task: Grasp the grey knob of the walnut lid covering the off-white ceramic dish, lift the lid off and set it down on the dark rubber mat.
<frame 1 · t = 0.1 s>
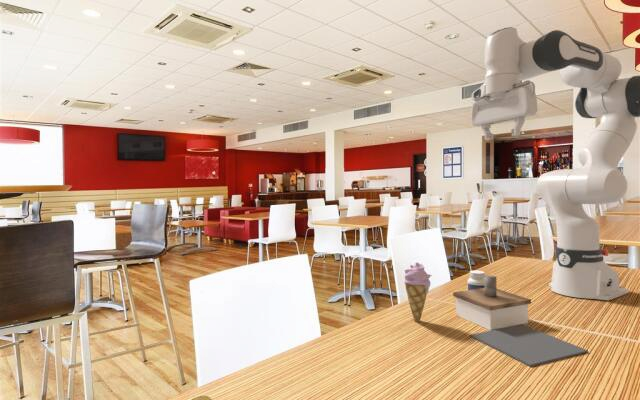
hand: (501, 137, 108), 48 cm above the table, fingers open, 8 cm apart
mat: (525, 343, 83), on the table
lid: (490, 299, 99), point 5 cm above the table, touching dish
pill bottle: (477, 306, 110), on the table
ice cream cone: (418, 322, 98), on the table
dish: (490, 318, 99), on the table
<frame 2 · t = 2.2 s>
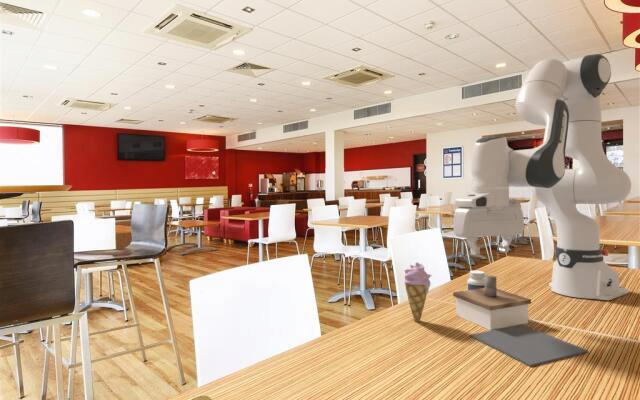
hand: (489, 253, 98), 17 cm above the table, fingers open, 8 cm apart
nothing on the table moved.
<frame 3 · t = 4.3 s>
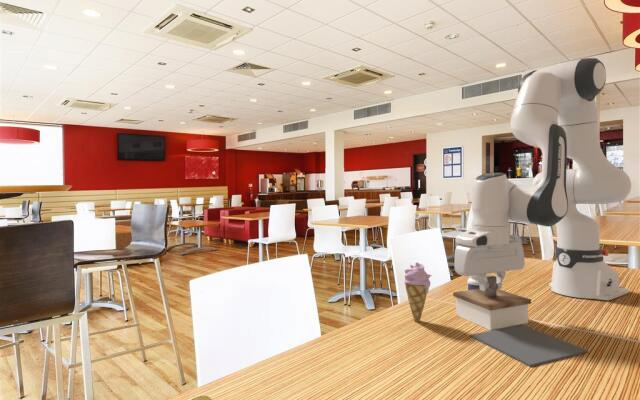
hand: (490, 289, 99), 8 cm above the table, fingers closed on lid, 3 cm apart
lid: (490, 299, 99), point 5 cm above the table, touching dish, gripper
everything else where it was.
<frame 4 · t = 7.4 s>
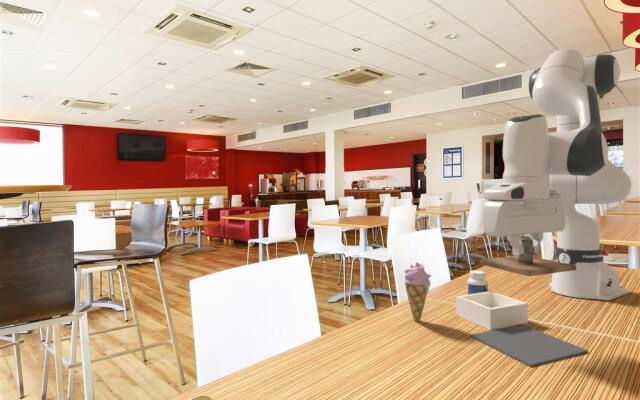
hand: (525, 254, 82), 20 cm above the table, fingers closed on lid, 3 cm apart
lid: (525, 266, 83), point 17 cm above the table, touching gripper
everything else where it was.
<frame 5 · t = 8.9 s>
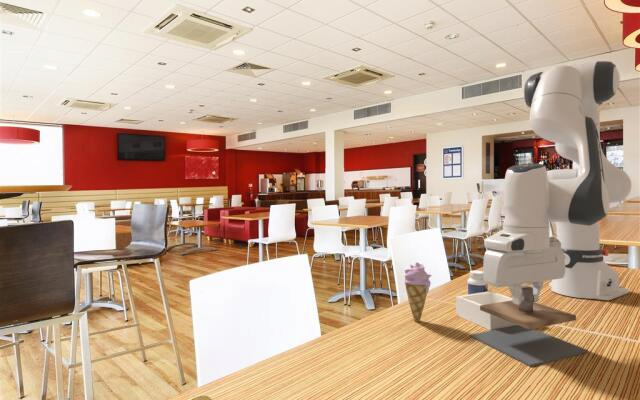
hand: (525, 302, 83), 9 cm above the table, fingers closed on lid, 3 cm apart
lid: (525, 314, 83), point 6 cm above the table, touching gripper
everything else where it was.
when the fingers open (5 cm above the table, at t = 10.5 s): lid drops 2 cm, resting on mat.
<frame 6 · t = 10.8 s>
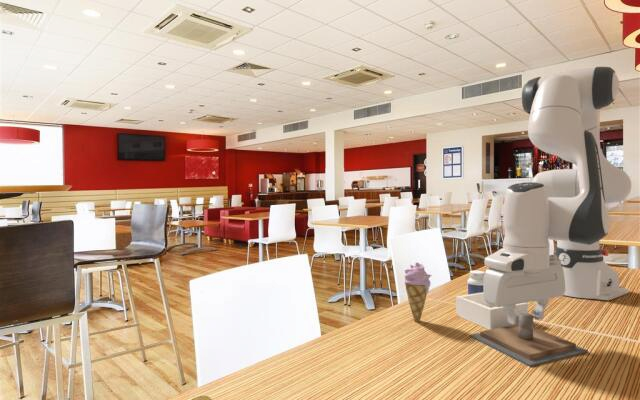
hand: (525, 320, 83), 5 cm above the table, fingers open, 6 cm apart
lid: (525, 342, 83), resting on mat
everything else where it was.
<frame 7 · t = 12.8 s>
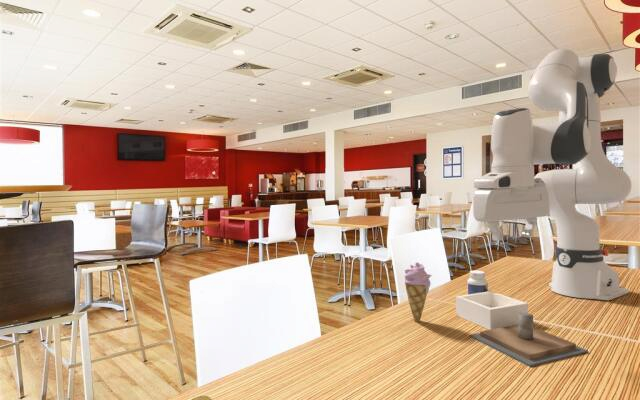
hand: (512, 238, 89), 22 cm above the table, fingers open, 8 cm apart
nothing on the table moved.
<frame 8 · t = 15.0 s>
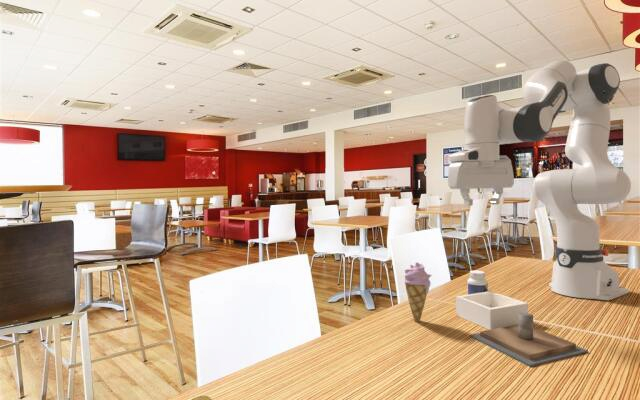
hand: (482, 205, 106), 29 cm above the table, fingers open, 8 cm apart
nothing on the table moved.
at the end: lid inside the target area on the mat (0.1 cm from its centre), point 0.4 cm above the mat's base; lid touching mat; the gripper is holding nothing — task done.
